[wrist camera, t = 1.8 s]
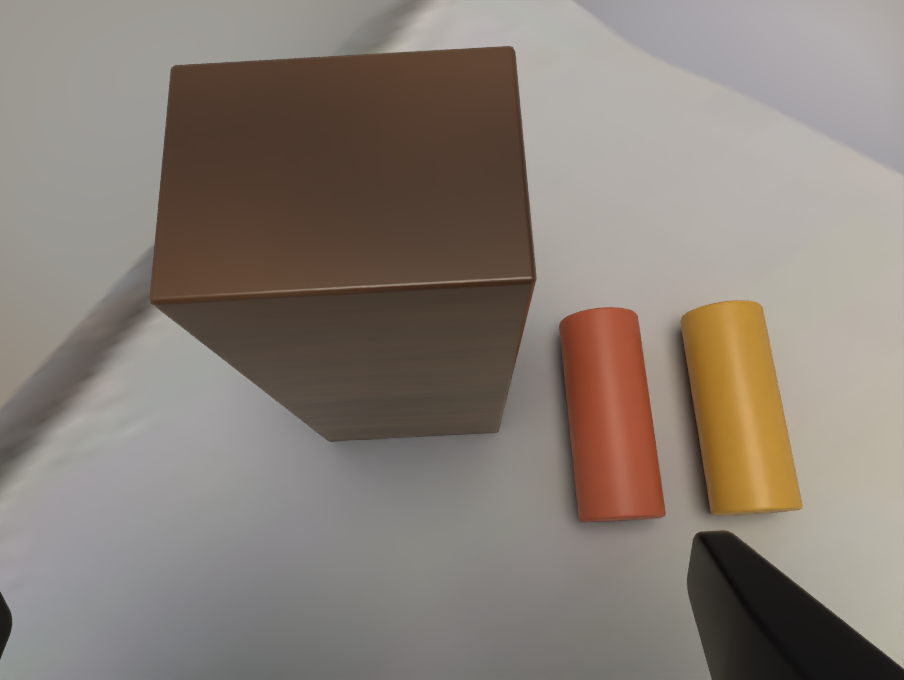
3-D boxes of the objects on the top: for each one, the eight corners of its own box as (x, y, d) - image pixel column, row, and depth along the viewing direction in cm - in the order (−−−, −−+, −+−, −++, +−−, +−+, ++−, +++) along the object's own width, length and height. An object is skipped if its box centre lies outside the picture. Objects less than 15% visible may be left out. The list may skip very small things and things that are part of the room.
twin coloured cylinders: (779, 512, 20) (819, 507, 18) (573, 523, 20) (586, 519, 18) (743, 323, 22) (775, 297, 20) (554, 333, 22) (564, 309, 20)
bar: (498, 432, 21) (537, 281, 9) (327, 442, 21) (146, 302, 9) (490, 312, 22) (515, 42, 10) (328, 321, 22) (168, 62, 10)
